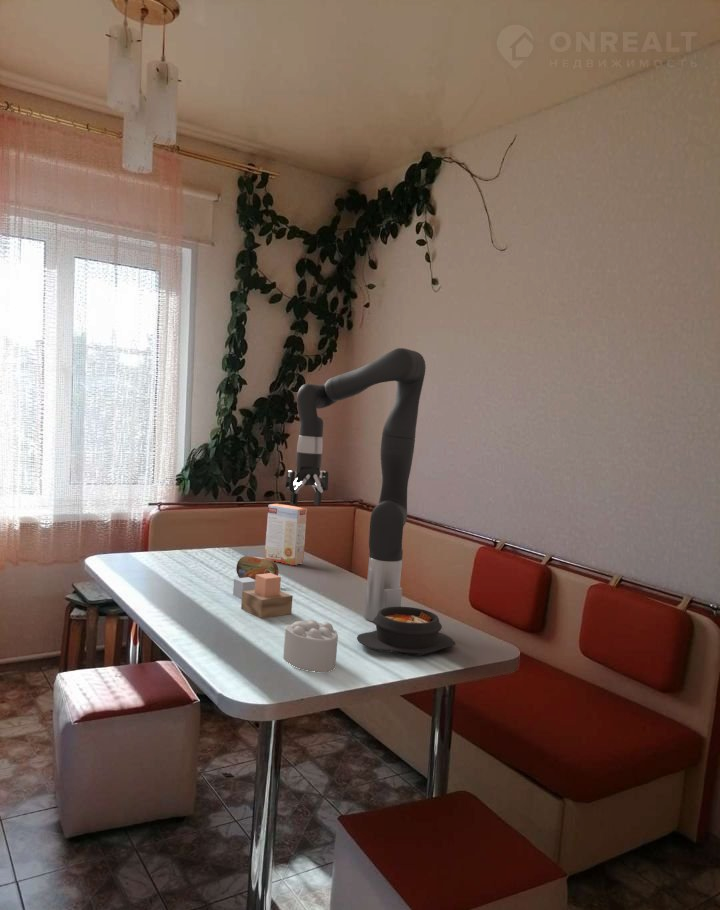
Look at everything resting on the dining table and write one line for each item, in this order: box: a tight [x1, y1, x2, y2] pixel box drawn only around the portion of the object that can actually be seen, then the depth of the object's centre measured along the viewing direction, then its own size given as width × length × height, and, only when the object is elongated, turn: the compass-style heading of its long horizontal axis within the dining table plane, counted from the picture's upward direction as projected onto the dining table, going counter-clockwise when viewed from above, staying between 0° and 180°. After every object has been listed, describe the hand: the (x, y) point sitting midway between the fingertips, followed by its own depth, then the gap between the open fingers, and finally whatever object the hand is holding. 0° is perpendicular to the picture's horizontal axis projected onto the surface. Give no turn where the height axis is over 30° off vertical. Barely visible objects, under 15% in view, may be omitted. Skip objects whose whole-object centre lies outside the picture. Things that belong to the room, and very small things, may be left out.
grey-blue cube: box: [232, 577, 255, 600], centre depth 212 cm, size 5×5×5 cm
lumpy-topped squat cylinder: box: [282, 619, 339, 673], centre depth 161 cm, size 10×13×9 cm
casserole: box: [356, 606, 456, 656], centre depth 176 cm, size 25×19×8 cm
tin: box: [235, 555, 279, 580], centre depth 228 cm, size 15×3×8 cm, turn 62°
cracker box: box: [264, 503, 308, 566], centre depth 262 cm, size 14×6×21 cm, turn 58°
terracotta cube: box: [255, 573, 282, 597], centre depth 197 cm, size 5×5×5 cm
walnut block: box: [240, 590, 294, 619], centre depth 198 cm, size 10×10×5 cm
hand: (305, 505), depth 213 cm, fingers open, 8 cm apart
